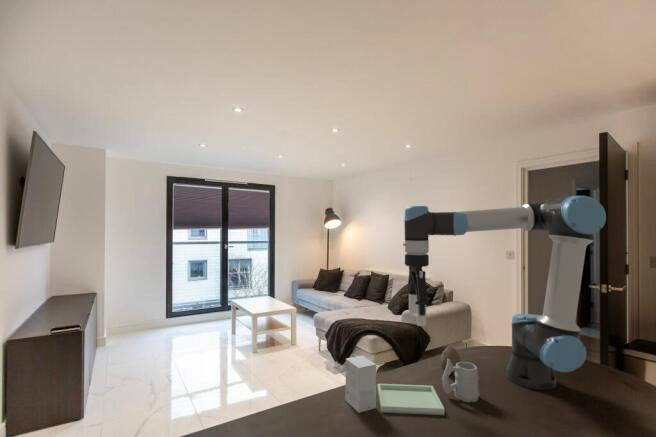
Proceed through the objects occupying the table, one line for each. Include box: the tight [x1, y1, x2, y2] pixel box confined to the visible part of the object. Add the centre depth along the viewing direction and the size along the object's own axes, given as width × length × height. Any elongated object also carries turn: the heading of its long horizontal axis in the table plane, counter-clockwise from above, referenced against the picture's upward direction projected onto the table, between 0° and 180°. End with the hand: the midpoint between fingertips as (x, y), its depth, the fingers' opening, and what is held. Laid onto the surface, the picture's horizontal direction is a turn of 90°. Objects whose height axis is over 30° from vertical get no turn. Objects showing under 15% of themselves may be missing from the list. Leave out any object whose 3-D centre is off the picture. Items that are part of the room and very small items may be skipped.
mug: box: [441, 359, 480, 403], centre depth 108 cm, size 8×12×12 cm, turn 95°
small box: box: [344, 355, 377, 414], centre depth 103 cm, size 8×6×13 cm
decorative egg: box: [440, 346, 462, 375], centre depth 125 cm, size 7×7×10 cm
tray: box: [376, 383, 446, 416], centre depth 105 cm, size 18×14×2 cm
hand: (417, 319), depth 110 cm, fingers open, 13 cm apart
